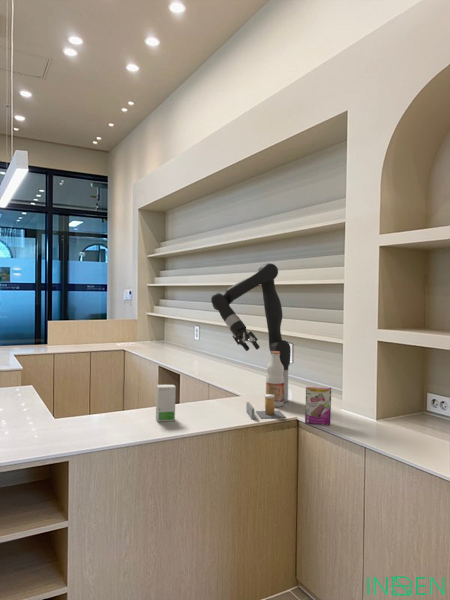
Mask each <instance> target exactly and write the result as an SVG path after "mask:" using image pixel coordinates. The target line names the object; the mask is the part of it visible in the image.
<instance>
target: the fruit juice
mask: <svg viewBox="0 0 450 600" xmlns="http://www.w3.org/2000/svg"><path fill="white" fill-rule="evenodd" d="M270 355H271V356H270V360H269V362H268V363H267V365H266V379H265V395H266V394H273V395H275V398H274V408H275V407H277V408H279V407H283V406H284V403H285V402H284V376H283V372H284V366H283V365H282V363H281V361H280V357H279V355H280V352H279V351H271V352H270Z"/></svg>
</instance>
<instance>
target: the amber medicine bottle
mask: <svg viewBox="0 0 450 600" xmlns="http://www.w3.org/2000/svg"><path fill="white" fill-rule="evenodd" d="M274 398H275V395H273V394H266V393H265V394H264V409H265V410H264V411H265V414H266V415H274V414H275V411H276V409H275V407H274Z"/></svg>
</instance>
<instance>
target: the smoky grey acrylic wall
mask: <svg viewBox="0 0 450 600" xmlns="http://www.w3.org/2000/svg"><path fill="white" fill-rule="evenodd" d="M245 408H246V414H247V415H248V417H250V419H251V420H252V421H253V420H255V407H254V406H253V404H251V403H250V401H246V406H245Z"/></svg>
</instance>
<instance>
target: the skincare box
mask: <svg viewBox="0 0 450 600" xmlns="http://www.w3.org/2000/svg"><path fill="white" fill-rule="evenodd" d="M176 389H177V387H176V385H175V384H156V402H155V405H156V406H155V419H156V421H157V422H175V419H176Z"/></svg>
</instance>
